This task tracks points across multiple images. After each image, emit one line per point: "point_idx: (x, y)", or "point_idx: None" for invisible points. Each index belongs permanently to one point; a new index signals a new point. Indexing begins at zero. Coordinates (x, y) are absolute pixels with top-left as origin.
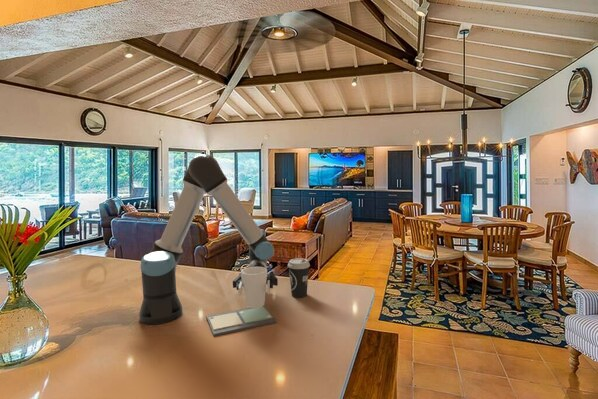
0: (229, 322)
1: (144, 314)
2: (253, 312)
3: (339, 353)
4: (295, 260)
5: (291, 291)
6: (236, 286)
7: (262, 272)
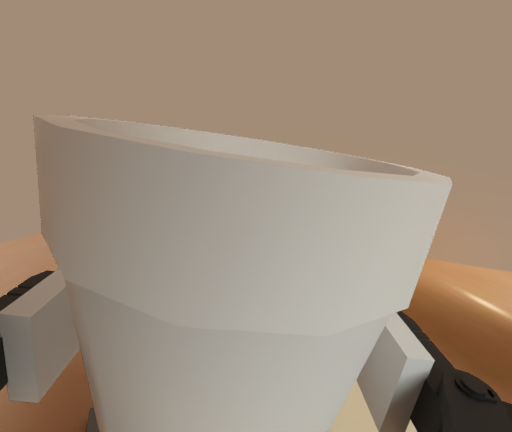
0: (350, 416)
1: None
2: None
3: (35, 243)
4: None
5: None
6: (406, 318)
7: (166, 126)
